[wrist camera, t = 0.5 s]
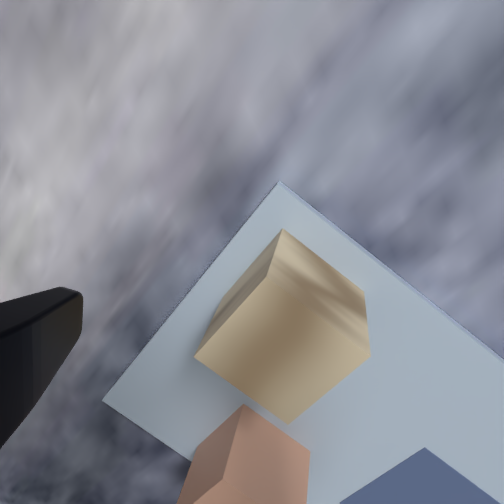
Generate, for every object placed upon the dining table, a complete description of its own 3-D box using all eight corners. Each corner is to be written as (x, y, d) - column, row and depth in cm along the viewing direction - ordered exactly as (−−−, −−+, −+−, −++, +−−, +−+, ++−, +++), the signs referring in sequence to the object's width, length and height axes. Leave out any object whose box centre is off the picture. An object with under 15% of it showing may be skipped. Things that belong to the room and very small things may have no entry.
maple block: (364, 291, 21) (370, 356, 16) (298, 352, 23) (287, 424, 18) (282, 228, 20) (266, 276, 16) (222, 296, 22) (193, 357, 18)
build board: (638, 466, 22) (646, 477, 22) (389, 588, 30) (390, 598, 30) (279, 180, 20) (277, 184, 19) (106, 393, 28) (101, 400, 27)
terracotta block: (310, 451, 25) (304, 535, 21) (260, 489, 28) (244, 572, 23) (243, 403, 25) (222, 479, 20) (197, 446, 27) (169, 522, 23)
